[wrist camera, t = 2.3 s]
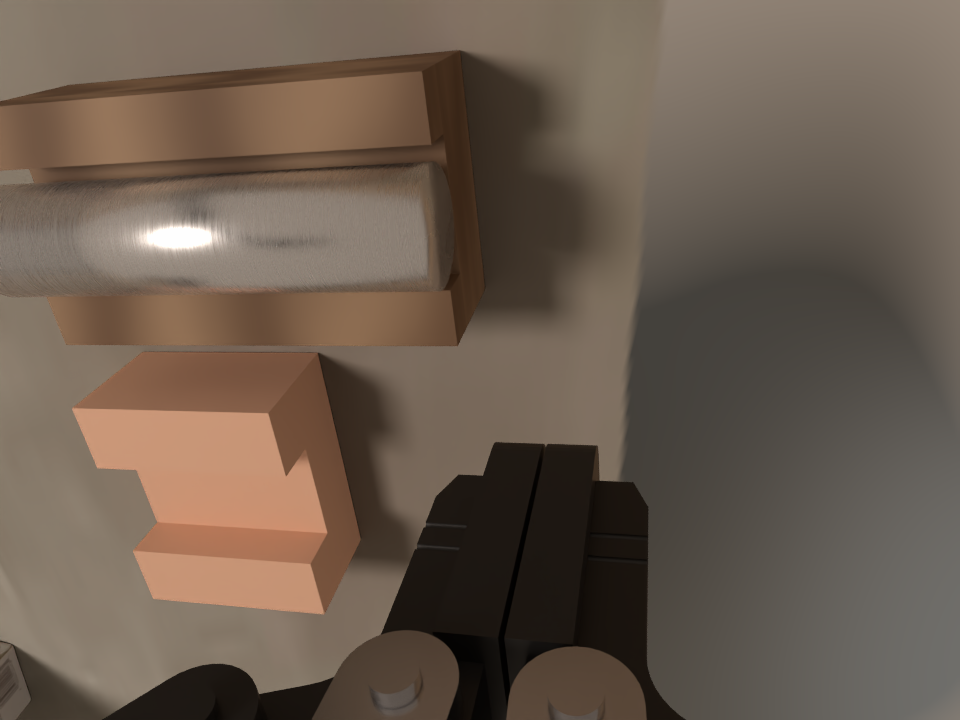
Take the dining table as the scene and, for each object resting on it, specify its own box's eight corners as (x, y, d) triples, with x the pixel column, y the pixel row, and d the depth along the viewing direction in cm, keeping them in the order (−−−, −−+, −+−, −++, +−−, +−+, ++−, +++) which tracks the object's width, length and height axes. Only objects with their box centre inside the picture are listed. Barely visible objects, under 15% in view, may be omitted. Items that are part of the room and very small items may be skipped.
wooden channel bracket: (141, 293, 33) (66, 344, 29) (69, 85, 29) (-31, 108, 25) (485, 288, 30) (457, 345, 26) (459, 50, 26) (422, 71, 21)
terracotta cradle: (206, 529, 40) (153, 598, 36) (142, 352, 35) (72, 408, 31) (360, 539, 38) (324, 614, 34) (317, 352, 33) (268, 413, 29)
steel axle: (69, 270, 29) (-6, 316, 26) (29, 171, 27) (-59, 206, 24) (459, 261, 26) (430, 313, 22) (444, 146, 24) (410, 184, 20)
